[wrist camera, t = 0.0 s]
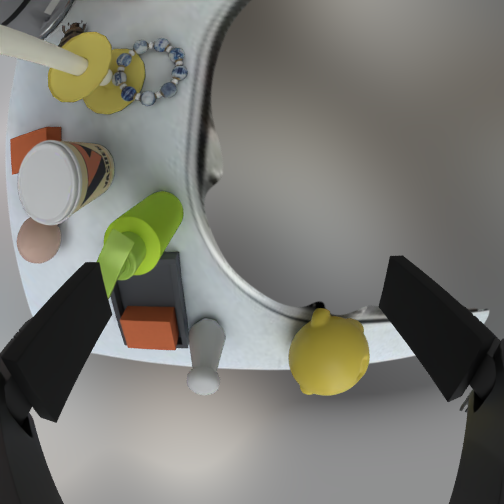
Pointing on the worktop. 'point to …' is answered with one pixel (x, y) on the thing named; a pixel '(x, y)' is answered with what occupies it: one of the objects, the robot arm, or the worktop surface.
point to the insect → (71, 32)
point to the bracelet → (167, 89)
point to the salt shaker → (205, 356)
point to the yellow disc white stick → (77, 67)
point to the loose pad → (30, 144)
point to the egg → (38, 241)
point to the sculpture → (328, 354)
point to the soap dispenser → (139, 238)
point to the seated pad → (150, 327)
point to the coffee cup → (62, 179)
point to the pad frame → (155, 293)
